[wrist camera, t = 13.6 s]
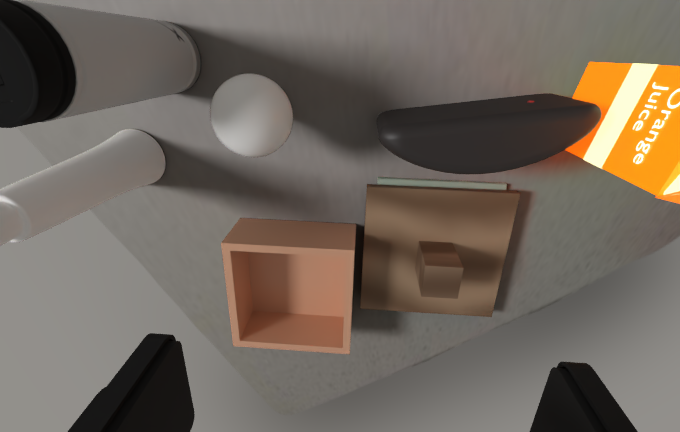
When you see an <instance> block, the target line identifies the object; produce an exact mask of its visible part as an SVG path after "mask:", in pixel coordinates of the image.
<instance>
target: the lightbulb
mask: <svg viewBox="0 0 680 432" xmlns="http://www.w3.org/2000/svg"><path fill="white" fill-rule="evenodd" d="M210 121H211V125H212V128H213V131H214V133H215V135H216V136H217V138H218V139H219V140H220V142H221V143H222V144H223V145H224V146H225V147H226V148H228V149H229V150H231V151H232V152H234V153H236V154H238V155H241V156H245V157H263V156H266V155H269V154H271V153H273V152H275V151H276V150H278V149H279V148H280V147H281V146H282V145H283V144H284V143H285V142H286V140H287V139H288V137H289V135H290V132H291V129H292V125H293V111H292V106H291V103H290V101H289V98H288V97H287V95H286V93H285V92H284V91H283V89H282V88H281V87H280V86H279V85H278V84H277V83H275V82H274V81H272V80H271V79H269V78H267V77H265V76H262V75H258V74H251V73H247V74H240V75H236V76H234V77H231V78H229V79H228V80H226V81H225V82H224V83H223V84H222V85H220V87H219V88H218V89H217V90H216V92H215V94H214V96H213V98H212V101H211V105H210Z"/></svg>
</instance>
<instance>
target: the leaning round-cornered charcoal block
mask: <svg viewBox="0 0 680 432" xmlns="http://www.w3.org/2000/svg"><path fill="white" fill-rule="evenodd" d="M601 115H602V113H601V109H600V108H599V107H598V106H597V105H596V104H594V103H590V102H585V101H581V100H577V99H572V98H568V97H563V96H559V95H555V94H534V95H525V96H516V97H507V98H498V99H488V100H479V101H470V102H461V103H452V104H442V105H433V106H424V107H415V108H406V109H396V110H389V111H385V112H382V113H380V114H379V115H378V117H377V129H378V137H379V140H380V142H381V143H382V144H383V145H384V146H385V147H386V148H387V149H388V150H389V151H391V152H392V153H393V154H395V155H396V156H398V157H400V158H402V159H404V160H406V161H408V162H410V163H412V164H415V165H418V166H421V167H424V168H427V169H431V170H435V171H441V172H447V173H455V174H485V173H495V172H501V171H507V170H512V169H516V168H520V167H523V166H527V165H530V164H533V163H536V162H539V161H541V160H544V159H546V158H548V157H551V156H553V155H555V154H557V153H559V152H561V151H563V150H565V149H567V148H568V147H570V146H572V145H573V144H575V143H577V142H578V141H580V140H581V139H583V138H584V137H585V136H587V135H588V134H589V133H590V132H591V131H592V130H593V129H594V128H595V127H596V125H597V124H598V123H599V121H600V119H601Z"/></svg>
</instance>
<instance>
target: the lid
mask: <svg viewBox="0 0 680 432" xmlns="http://www.w3.org/2000/svg"><path fill="white" fill-rule="evenodd" d="M519 198H520V193H519V192H518V191H508V190H486V189H463V188H441V187H418V186H396V185H373V184H367V195H366V212H365V230H364V248H363V266H362V284H361V302H360V309H373V310H389V311H405V312H421V313H438V314H454V315H470V316H486V317H492V313H493V309H494V304H495V300H496V296H497V292H498V287H499V283H500V279H501V274H502V270H503V266H504V262H505V257H506V253H507V249H508V245H509V240H510V236H511V232H512V228H513V223H514V219H515V215H516V211H517V206H518V202H519Z"/></svg>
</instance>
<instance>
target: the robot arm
mask: <svg viewBox="0 0 680 432" xmlns="http://www.w3.org/2000/svg"><path fill="white" fill-rule="evenodd" d="M193 421H194V408H193V403H192V398H191V392H190V387H189V382H188V377H187V372H186V366H185V361H184V356H183V351H182V345H181V343H180V341H176V340H175V337H174V336H173V335H167V334H148V335H147V336H146V337H145V338H144V339H143V341H142V342H141V343H140V345H139V346H138V347H137V348H136V350H135V351H134V352H133V353H132V355H131V356H130V357H129V359H128V360H127V361H126V362H125V364H124V365H123V366H122V368H121V369H120V370H119V371H118V373H117V374H116V375H115V377H114V378H113V379H112V380H111V382H110V383H109V384H108V386H107V387H105V388H104V389H102V390H101V391H100V392H99V393H98V394H97V395H96V396H95V398H94V399H93V400H92V401H91V403H90V404H89V405H88V406H87V408H86V409H85V410H84V412H83V413H82V414H81V415H80V417H79V418H78V419H77V420H76V422H75V423H74V424H73V426H72V427H71V428H70V429H69V431H68V432H190V430H191V428H192V425H193ZM530 432H637V430H636V429H635V427H634V426H633V425H632V423H631V422H630V420H629V419H628V417H627V416H626V415H625V413H624V412H623V410H622V409H621V408H620V406H619V405H618V403H617V402H616V401H615V399H614V398H613V396H612V395H611V394H610V392H609V391H608V389H607V388H606V386H605V385H604V384H603V382H602V381H601V380H600V378H599V377H598V375H597V374H596V372H595V371H594V370H593V369H592V367H591V366H590V365H588V364H587V363H573V362H560V363H559V364H558V366H557V368H555V367H554V368H552V369H551V371H550V374H549V377H548V380H547V383H546V386H545V388H544V391H543V394H542V397H541V400H540V403H539V406H538V409H537V412H536V415H535V418H534V421H533V424H532V427H531V430H530Z"/></svg>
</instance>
